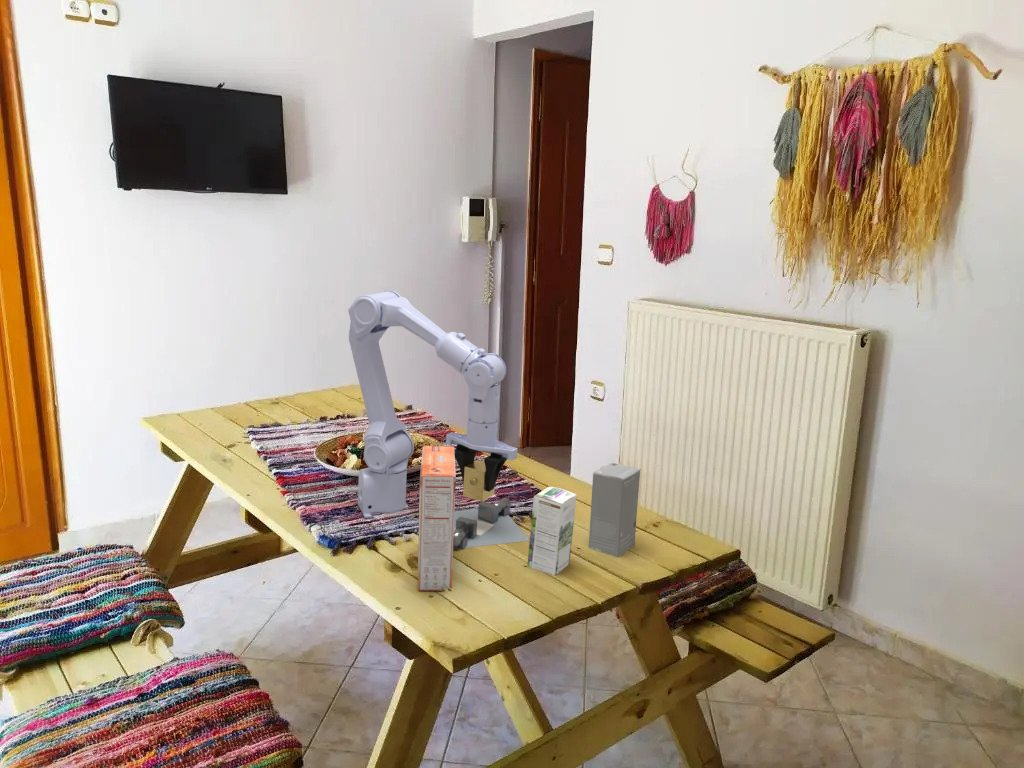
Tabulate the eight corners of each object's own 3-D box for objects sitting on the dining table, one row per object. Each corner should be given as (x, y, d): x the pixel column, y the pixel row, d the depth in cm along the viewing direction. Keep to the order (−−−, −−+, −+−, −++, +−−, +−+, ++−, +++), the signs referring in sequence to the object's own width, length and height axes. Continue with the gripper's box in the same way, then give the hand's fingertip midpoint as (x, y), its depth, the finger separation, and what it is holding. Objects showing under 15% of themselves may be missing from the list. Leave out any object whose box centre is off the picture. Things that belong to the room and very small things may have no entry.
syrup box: (541, 558, 146) (547, 484, 143) (570, 567, 143) (577, 492, 140) (526, 570, 141) (532, 494, 138) (556, 580, 139) (562, 502, 135)
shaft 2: (492, 523, 157) (493, 508, 157) (477, 518, 159) (478, 503, 158) (513, 512, 163) (514, 497, 163) (499, 507, 165) (499, 493, 164)
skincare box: (618, 561, 147) (626, 481, 143) (583, 550, 151) (590, 471, 147) (636, 545, 154) (645, 468, 150) (603, 534, 158) (610, 459, 154)
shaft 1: (459, 532, 153) (459, 516, 152) (476, 535, 152) (477, 520, 151) (443, 547, 146) (444, 531, 145) (461, 551, 145) (462, 535, 144)
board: (449, 553, 146) (449, 548, 146) (426, 517, 160) (426, 513, 160) (530, 544, 152) (530, 539, 151) (501, 510, 166) (501, 506, 166)
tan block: (481, 502, 151) (483, 472, 149) (461, 496, 153) (463, 467, 151) (495, 493, 155) (497, 464, 154) (475, 488, 157) (477, 459, 156)
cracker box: (417, 553, 145) (421, 444, 140) (451, 553, 146) (456, 445, 141) (415, 592, 132) (419, 473, 126) (451, 592, 132) (457, 474, 127)
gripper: (526, 421, 150) (521, 489, 153) (461, 406, 156) (457, 471, 160) (509, 431, 144) (504, 501, 147) (441, 415, 150) (438, 482, 154)
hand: (478, 486), depth 153 cm, fingers closed on tan block, 4 cm apart
